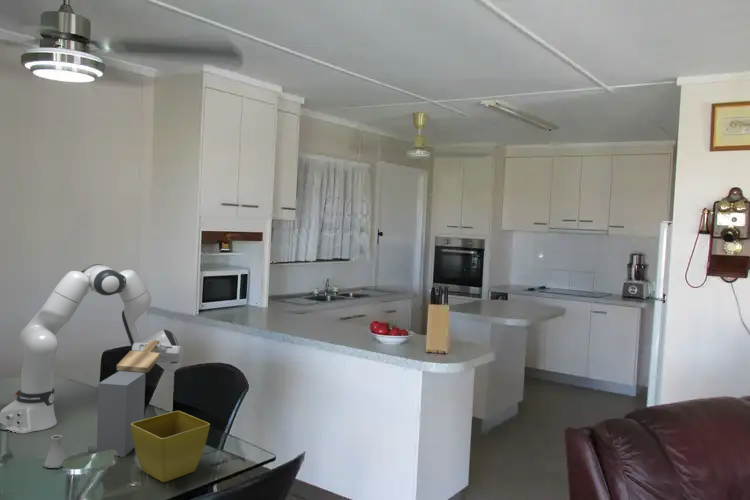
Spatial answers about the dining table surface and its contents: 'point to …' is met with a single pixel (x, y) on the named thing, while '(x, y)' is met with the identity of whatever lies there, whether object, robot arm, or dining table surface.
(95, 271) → the robot arm
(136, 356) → the oak paddle board
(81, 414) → the dining table surface
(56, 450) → the flask
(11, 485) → the dining table surface
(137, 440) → the flower pot
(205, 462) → the dining table surface
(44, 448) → the dining table surface
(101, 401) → the grey post
